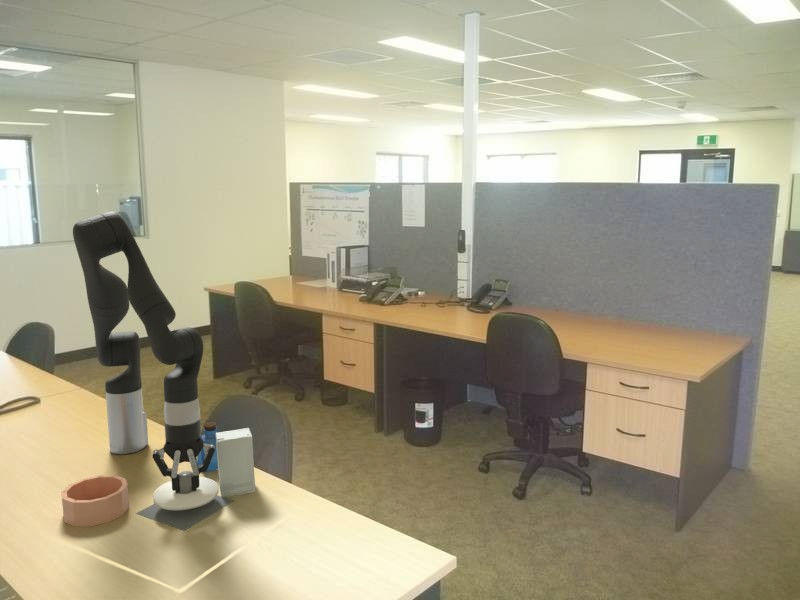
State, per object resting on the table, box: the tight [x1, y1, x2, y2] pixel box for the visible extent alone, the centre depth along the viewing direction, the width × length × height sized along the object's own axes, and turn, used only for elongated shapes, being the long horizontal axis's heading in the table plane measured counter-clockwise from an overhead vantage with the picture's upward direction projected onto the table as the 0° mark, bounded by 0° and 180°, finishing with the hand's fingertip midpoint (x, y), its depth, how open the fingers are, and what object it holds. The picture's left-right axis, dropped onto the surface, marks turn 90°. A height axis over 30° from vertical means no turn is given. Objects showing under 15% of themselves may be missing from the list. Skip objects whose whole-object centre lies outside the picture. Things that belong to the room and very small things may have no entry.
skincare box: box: [216, 427, 256, 498], centre depth 149 cm, size 8×6×15 cm
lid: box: [152, 470, 219, 510], centre depth 141 cm, size 14×14×6 cm
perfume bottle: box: [196, 421, 218, 474], centre depth 163 cm, size 6×6×12 cm
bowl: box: [60, 474, 130, 527], centre depth 139 cm, size 13×13×6 cm
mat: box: [135, 495, 235, 532], centre depth 142 cm, size 15×15×1 cm
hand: (186, 489), depth 142 cm, fingers closed on lid, 3 cm apart
